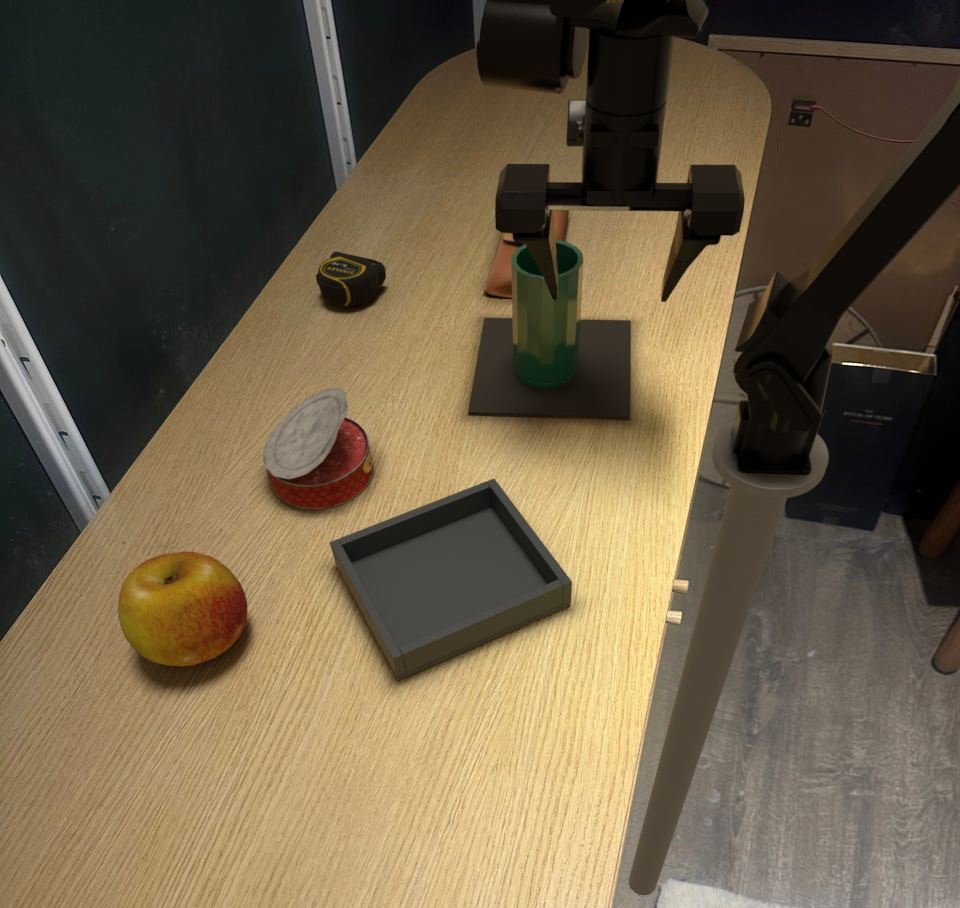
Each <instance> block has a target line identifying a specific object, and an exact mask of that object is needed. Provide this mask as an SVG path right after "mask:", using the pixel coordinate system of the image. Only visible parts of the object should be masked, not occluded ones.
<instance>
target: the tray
mask: <svg viewBox="0 0 960 908" xmlns="http://www.w3.org/2000/svg"><path fill="white" fill-rule="evenodd" d="M329 546H330V549H331V552H332V556H333V559H334V563H335V567H336V568H337V570H338V572H339V574H340V576H341V578H342V579H343V581H344V583H345V585H346V587H347V589H348V591H349V593H350V594H351V596H352V598H353V600H354V602H355V604H356V606H357V607H358V609H359V611H360V613H361V616H362V617H363V619H364V621H365V622H366V624H367V626H368V628H369V630H370V632H371V634H372V636H373V638H374V639H375V641H376V643H377V645H378V646H379V648H380V650H381V653H382V654H383V657H384V658H385V660H386V661H387V663H388V665H389V667H390V669H391V671H392V673H393V674H394V677H395V678H396V680H397V681H398V682H399V681H401V680H403V679H406V678H409V677H411V676H413V675H415V674H417V673H420V672H422V671H424V670H427V669H429V668H431V667H434V666H436V665H439V664H440V663H443V662H445V661H447V660H450V659H452V658H454V657H457V656H459V655H461V654H463V653H466V652H468V651H470V650H472V649H475V648H477V647H480V646H481V645H483V644H486V643H488V642H490V641H493V640H495V639H497V638H500V637H502V636H504V635H507V634H509V633H512V632H513V631H516V630H518V629H520V628H522V627H525V626H527V625H530V624H532V623H534V622H536V621H538V620H541V619H543V618H545V617H548V616H550V615H553V614H556V613H557V612H560V611H562V610H564V609H566V608H569V607H571V605H572V590H573V581H572V579H571V578H570V577H569V576H568V574H567V573H566V572H565V571H564V569H563V568H562V566H561V565H560V564H559V562H558V560H556V558H555V557H554V555H553V554H552V553H551V552H550V550H549V548H547V546H546V545H545V544H544V542H543V541H542V540H541V539H540V537H539V536H538V534H537V533H536V532H535V531H534V530H533V528H532V527H531V525H530V524H529V522H528V521H527V520H526V519H525V517H524V515H522V513H521V512H520V511H519V509H518V508H517V506H515V504H514V502H513V501H512V500H511V499H510V497H509V495H507V493H506V492H505V490H504V489H503V488H502V487H501V485H500V484H499V483H498V482H497V480H496V479H495V478H492V479H488V480H487V481H483V482H481V483H478V484H476V485H473V486H471V487H468V488H466V489H463V490H460V491H457V492H455V493H452V494H450V495H447V496H445V497H443V498H439V499H437V500H434V501H432V502H430V503H428V504H427V503H426V504H423V505H422V506H419V507H417V508H413V509H411V510H409V511H406V512H403V513H401V514H399V515H396V516H393V517H391V518H388V519H385V520H383V521H381V522H378V523H375V524H373V525H370V526H368V527H365V528H362V529H360V530H357V531H355V532H351V533H349V534H347V535H344V536H342V537H340V538H337V539H335V540H331V541H330V542H329Z"/></svg>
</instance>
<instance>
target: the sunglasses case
mask: <svg viewBox="0 0 960 908" xmlns="http://www.w3.org/2000/svg"><path fill="white" fill-rule="evenodd" d="M553 212H554V232H555V240H559V241H565V238H566V237H565V236H566V232H567V226H568V222H569V216H570V210H553ZM524 244H525V243H519V242H515V241H514V240H513V237H512V233H502V232H500V236H499V240H498V243H497V247H496V250H495V252H494V253H495V254H494V257H493V260H492V263H491V266H490V269H489V272H488V274H487V277H486V280H485V283H484V287H483V293H485V294H487V295H489V296H491V297H492V296H493V297H498V298H502V299H508V300H512V269H511V257H512V255H513V253H514V252H515V251H516V249H518V248H519V247H521V246H523V245H524Z"/></svg>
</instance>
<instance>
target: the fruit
mask: <svg viewBox="0 0 960 908" xmlns="http://www.w3.org/2000/svg"><path fill="white" fill-rule="evenodd" d="M117 602H118V604H117V611H118V613H117V615H118V621H119V625H120V628H121V631H122V634H123V636H124V638H125V641H127V642H128V644H129V646H130V647H131V648H132V649H133V650H135V652H137V653H138V654H139V655H141V656H142V657H143V658H144V659H147V660H148V661H150V662H153V663H156V664H159V665H165V666H168V667H189V666H195V665H198V664H201V663H205V662H207V661H210V660H213V659H215V658H217V657H219V656H220V655H221V654H223V653H225V652H226V651H227V650H228V649H229V648H230V647H231V646H233V645H235V643H236V642H237V640H238V639H239V638H240V636H241V634H242V632H243V631H244V629H245V627H246V623H247V619H248V600H247V596H246V592H245V590H244V588H243V586H242V584H241V582H240V581H239V580H238V578H237V576H236V575H235V574H234V573H233V572H232V571H231V570H230V568H229V567H227V565H225V564H224V563H222V562H221V561H220V560H219V559H217V558H214V557H213V556H211V555H208V554H205V553H202V552H198V551H197V552H196V551H177V552H172V553H163V554H159V555H156V556H154V557H151V558H148V559H146V560H144V561H143V562H141V563H140V564H139V565H137V566H136V567H134V569H133V570H132V571H131V572H130V573H129V574H128V575H127V577H126V578H125V579H124V581H123V583H122V585H121V588H120V591H119V595H118V601H117Z"/></svg>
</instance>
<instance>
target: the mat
mask: <svg viewBox="0 0 960 908" xmlns="http://www.w3.org/2000/svg"><path fill="white" fill-rule="evenodd" d="M483 318H484V319H483V324H482V329H481V335H480V340H479V346H478V351H477V358H476V364H475V369H474V374H473V375H474V376H473V380H472V386H471V392H470V398H469V404H468V408H467V409H468V410H467V415H468V416H485V417H486V416H488V417H493V416H494V417H520V418H521V417H522V418H523V417H524V418H554V419H583V420H584V419H590V420H619V421H623V420H624V421H630V420H631V401H632V400H631V392H632V391H631V389H632V387H631V381H632V376H631V375H632V374H631V371H632V370H631V367H632V364H631V363H632V357H631V356H632V355H631V354H632V352H631V351H632V320H631V319H630V320H629V319H628V320H627V319H584V318H583V319H582V318H580V337H579V356H578V367H577V373H576V375H575V376H574V378H573V379H572V380H570V381H569V382H568V383H566V384H564V385H562V386H559V387H555V388H535V387H531V386H528V385H526V384H524V383H522V382H521V381H520V380H519V379H518V378H517V377H516V375H515V373H514V368H513V320H512V317H483Z"/></svg>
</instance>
